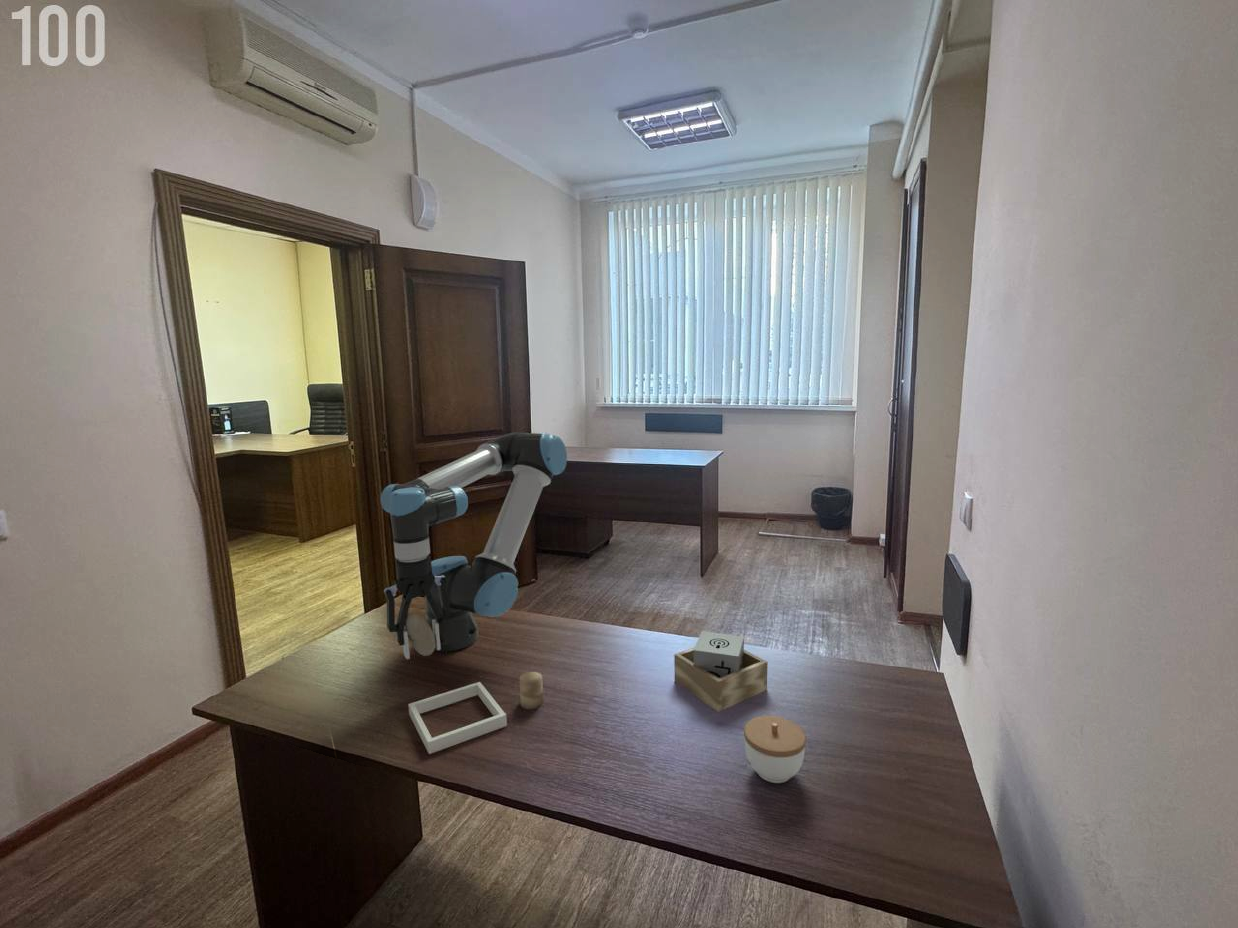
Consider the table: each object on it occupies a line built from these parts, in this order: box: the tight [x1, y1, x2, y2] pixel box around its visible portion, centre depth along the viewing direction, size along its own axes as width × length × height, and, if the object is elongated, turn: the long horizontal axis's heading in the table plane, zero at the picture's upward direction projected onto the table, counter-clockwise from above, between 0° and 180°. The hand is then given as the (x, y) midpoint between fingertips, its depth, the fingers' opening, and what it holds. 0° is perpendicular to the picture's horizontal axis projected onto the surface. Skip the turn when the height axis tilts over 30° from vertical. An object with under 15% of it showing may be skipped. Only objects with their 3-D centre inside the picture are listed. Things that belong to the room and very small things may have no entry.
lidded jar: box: [743, 715, 807, 784], centre depth 103 cm, size 11×11×9 cm
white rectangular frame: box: [407, 681, 508, 755], centre depth 121 cm, size 16×16×2 cm
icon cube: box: [693, 630, 745, 678], centre depth 132 cm, size 10×10×10 cm
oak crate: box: [673, 646, 769, 713], centre depth 132 cm, size 15×15×7 cm
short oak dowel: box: [519, 671, 544, 710], centre depth 127 cm, size 5×5×6 cm
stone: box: [405, 610, 436, 657], centre depth 132 cm, size 6×6×12 cm
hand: (422, 651), depth 132 cm, fingers closed on stone, 6 cm apart
